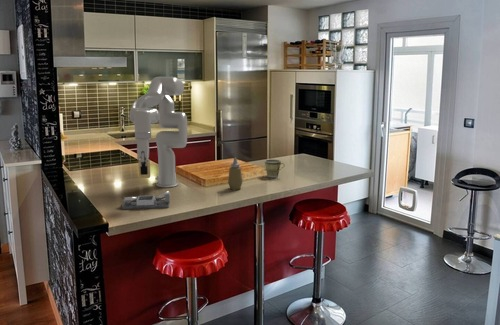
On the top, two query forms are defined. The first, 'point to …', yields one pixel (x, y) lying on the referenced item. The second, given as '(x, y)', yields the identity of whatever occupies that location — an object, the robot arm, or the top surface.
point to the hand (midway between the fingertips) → (144, 172)
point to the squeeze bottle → (235, 176)
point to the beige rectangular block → (147, 169)
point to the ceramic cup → (273, 167)
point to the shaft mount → (147, 201)
